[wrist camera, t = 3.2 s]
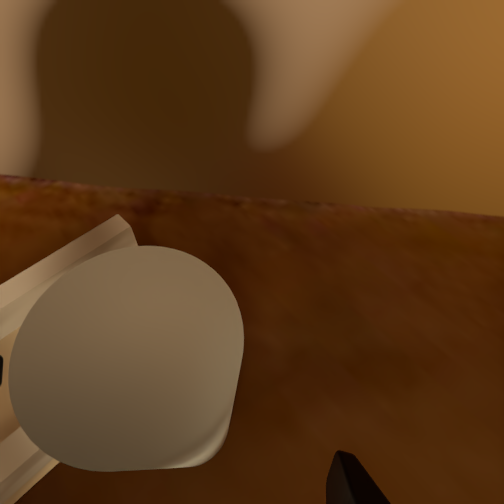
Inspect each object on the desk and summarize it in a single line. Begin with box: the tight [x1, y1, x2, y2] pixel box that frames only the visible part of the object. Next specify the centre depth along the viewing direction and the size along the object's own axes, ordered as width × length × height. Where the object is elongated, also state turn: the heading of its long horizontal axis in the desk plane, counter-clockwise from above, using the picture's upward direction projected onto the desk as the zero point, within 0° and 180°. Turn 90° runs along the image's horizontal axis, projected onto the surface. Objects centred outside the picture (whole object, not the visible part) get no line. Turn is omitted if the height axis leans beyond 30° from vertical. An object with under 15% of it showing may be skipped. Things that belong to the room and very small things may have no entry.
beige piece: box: [8, 246, 244, 472], centre depth 10 cm, size 4×4×12 cm
